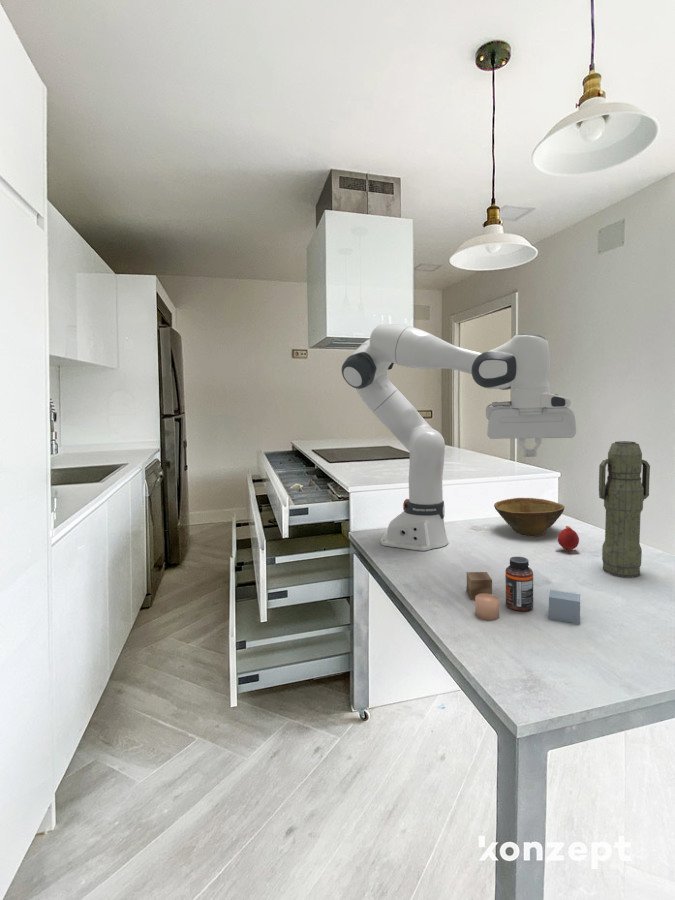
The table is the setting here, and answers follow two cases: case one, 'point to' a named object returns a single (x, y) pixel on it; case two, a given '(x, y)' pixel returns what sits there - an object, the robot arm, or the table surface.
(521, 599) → the supplement bottle
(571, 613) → the slate block
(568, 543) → the onion
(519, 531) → the bowl
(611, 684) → the table surface
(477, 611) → the peach rounded cylinder
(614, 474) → the thermos
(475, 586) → the walnut cube
